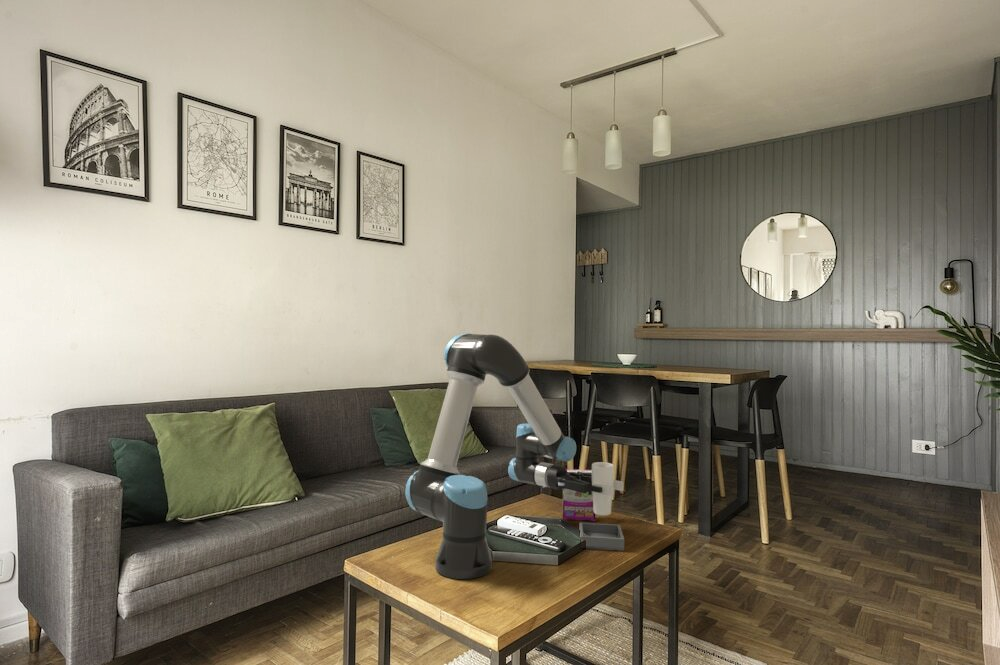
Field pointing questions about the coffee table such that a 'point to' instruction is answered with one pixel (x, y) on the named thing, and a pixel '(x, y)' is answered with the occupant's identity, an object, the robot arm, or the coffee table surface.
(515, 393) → the robot arm
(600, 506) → the white cup
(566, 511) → the candy bar box
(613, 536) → the tray
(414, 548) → the coffee table surface
